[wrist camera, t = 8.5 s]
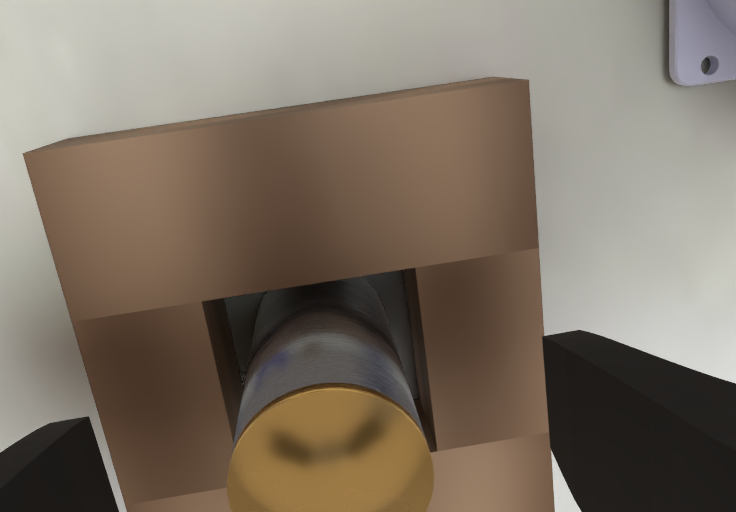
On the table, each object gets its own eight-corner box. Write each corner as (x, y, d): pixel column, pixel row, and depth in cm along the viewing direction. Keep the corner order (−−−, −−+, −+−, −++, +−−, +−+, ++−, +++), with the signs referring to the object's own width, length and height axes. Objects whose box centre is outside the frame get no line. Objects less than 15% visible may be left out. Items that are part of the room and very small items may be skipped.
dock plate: (494, 76, 19) (528, 80, 16) (525, 491, 23) (557, 553, 20) (67, 138, 18) (22, 153, 15) (179, 552, 22) (160, 625, 19)
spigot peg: (365, 247, 20) (403, 366, 12) (400, 362, 21) (455, 536, 13) (237, 286, 20) (195, 430, 12) (280, 399, 21) (267, 595, 13)
